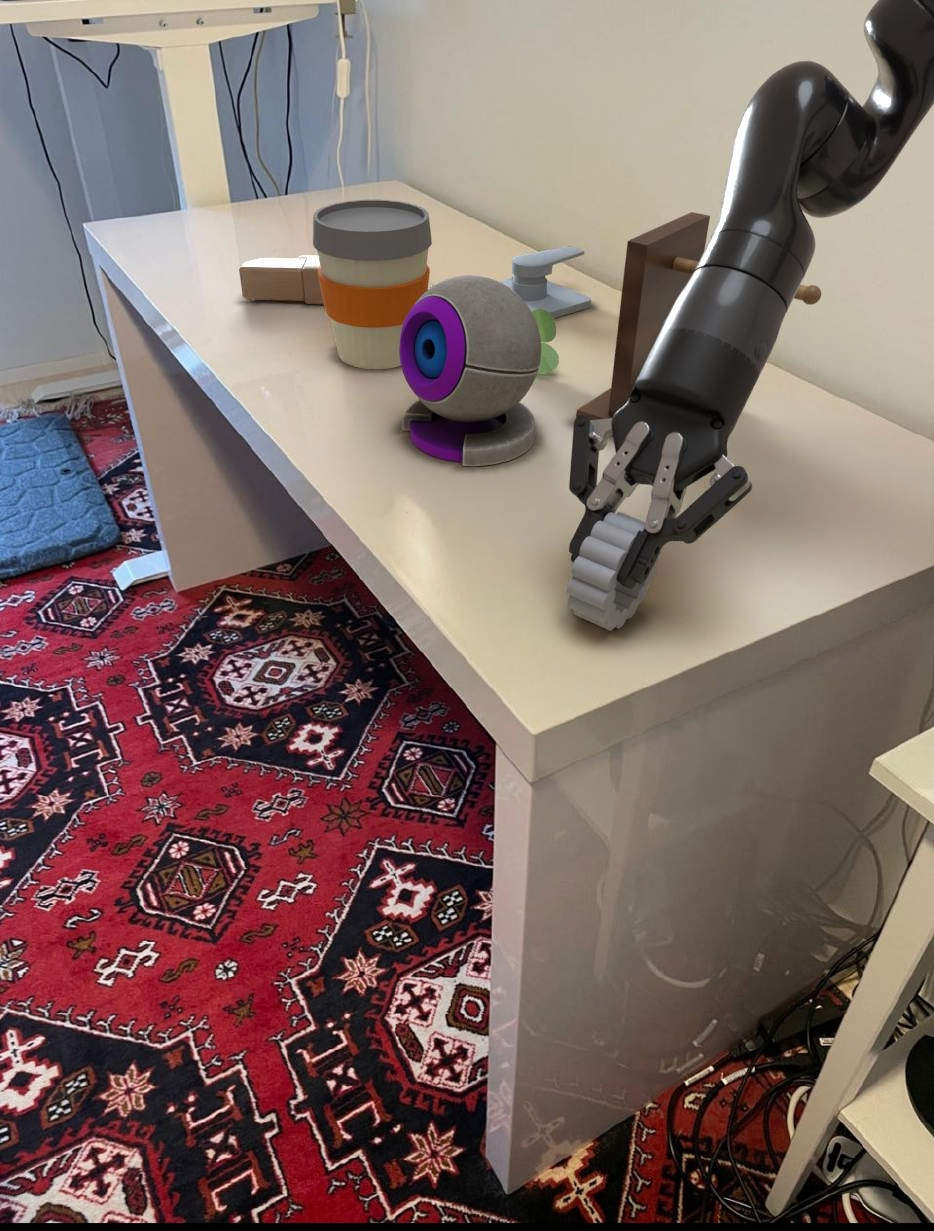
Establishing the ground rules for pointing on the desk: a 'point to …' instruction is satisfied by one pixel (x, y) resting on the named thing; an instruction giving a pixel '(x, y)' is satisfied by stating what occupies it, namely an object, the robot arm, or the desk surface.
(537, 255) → the shower valve
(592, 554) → the grey scalloped ring
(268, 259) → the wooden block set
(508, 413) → the webcam
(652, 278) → the rack
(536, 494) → the desk surface
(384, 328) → the reusable coffee cup
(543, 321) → the seedling
